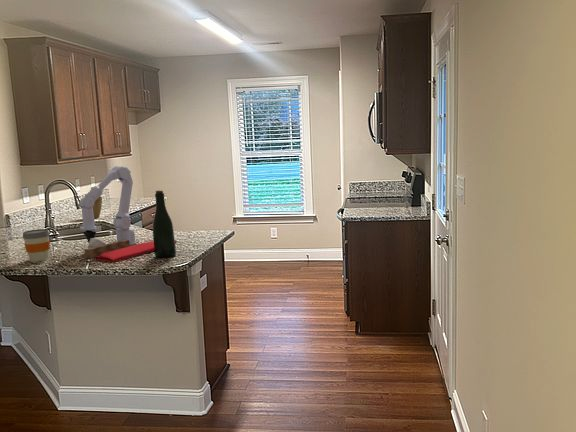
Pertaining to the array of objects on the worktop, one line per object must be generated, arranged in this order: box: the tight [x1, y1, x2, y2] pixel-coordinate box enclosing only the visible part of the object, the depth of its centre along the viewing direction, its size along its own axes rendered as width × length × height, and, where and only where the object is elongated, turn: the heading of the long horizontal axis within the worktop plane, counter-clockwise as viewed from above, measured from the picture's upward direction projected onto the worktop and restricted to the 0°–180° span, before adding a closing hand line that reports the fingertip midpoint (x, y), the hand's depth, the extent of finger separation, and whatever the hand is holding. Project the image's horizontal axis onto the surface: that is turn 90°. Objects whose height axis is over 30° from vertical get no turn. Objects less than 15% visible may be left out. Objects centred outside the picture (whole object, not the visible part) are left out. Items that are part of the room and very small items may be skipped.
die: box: [87, 236, 106, 249], centre depth 297 cm, size 8×9×10 cm
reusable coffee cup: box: [22, 228, 51, 263], centre depth 287 cm, size 13×12×15 cm
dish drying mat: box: [94, 239, 177, 263], centre depth 292 cm, size 16×41×4 cm, turn 142°
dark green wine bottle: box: [152, 189, 177, 259], centre depth 276 cm, size 10×10×33 cm
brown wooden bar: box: [84, 240, 131, 260], centre depth 294 cm, size 26×3×4 cm, turn 144°
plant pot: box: [93, 195, 103, 220], centre depth 424 cm, size 15×15×16 cm
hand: (91, 244), depth 300 cm, fingers closed
